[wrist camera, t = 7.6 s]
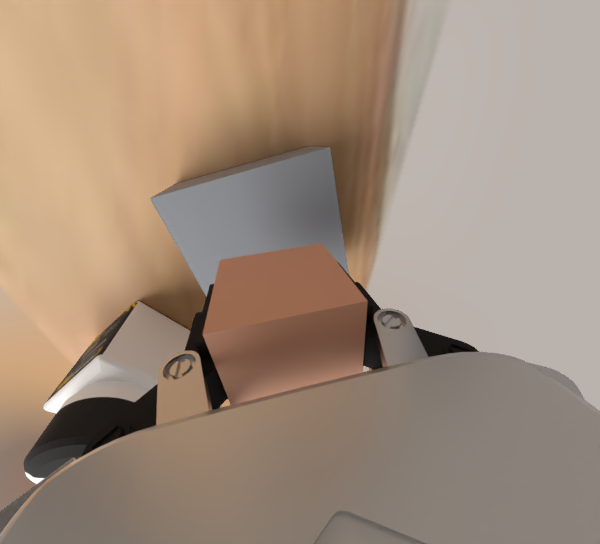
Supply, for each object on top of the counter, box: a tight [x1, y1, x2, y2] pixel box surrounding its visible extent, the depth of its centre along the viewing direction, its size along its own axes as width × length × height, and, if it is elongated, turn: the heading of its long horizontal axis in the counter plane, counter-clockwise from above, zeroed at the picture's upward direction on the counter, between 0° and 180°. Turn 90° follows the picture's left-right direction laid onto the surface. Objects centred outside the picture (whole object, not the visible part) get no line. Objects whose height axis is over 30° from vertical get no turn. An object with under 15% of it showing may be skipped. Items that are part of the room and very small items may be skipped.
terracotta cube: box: [202, 243, 368, 405], centre depth 10 cm, size 5×5×5 cm
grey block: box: [150, 146, 349, 297], centre depth 19 cm, size 11×11×6 cm
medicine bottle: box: [24, 301, 190, 484], centre depth 19 cm, size 7×7×12 cm
